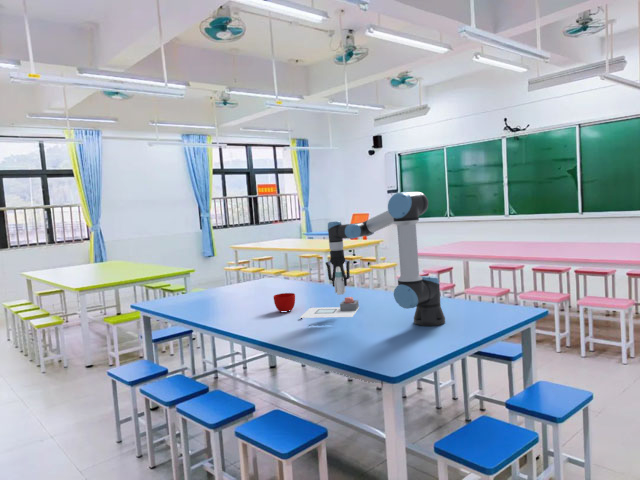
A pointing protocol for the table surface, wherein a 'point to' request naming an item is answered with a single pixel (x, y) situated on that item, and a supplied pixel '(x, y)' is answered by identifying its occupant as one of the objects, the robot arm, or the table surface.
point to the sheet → (327, 313)
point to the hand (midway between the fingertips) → (340, 292)
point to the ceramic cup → (284, 301)
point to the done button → (349, 300)
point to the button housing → (349, 306)
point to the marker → (339, 282)
